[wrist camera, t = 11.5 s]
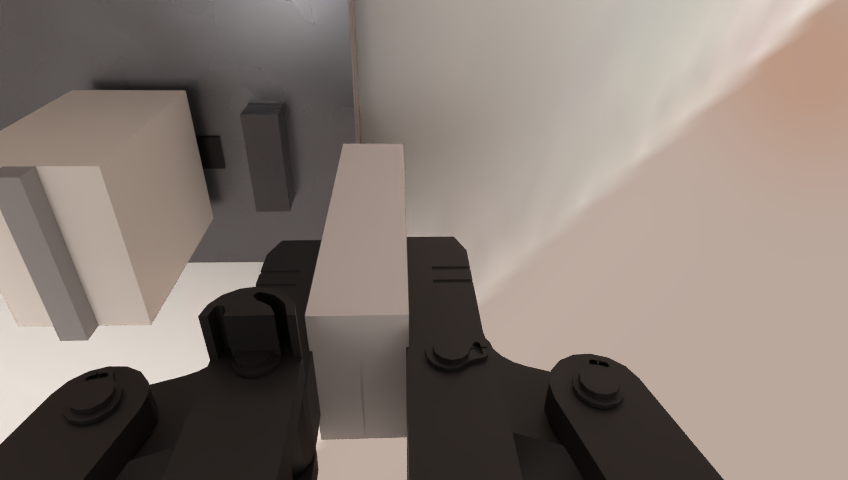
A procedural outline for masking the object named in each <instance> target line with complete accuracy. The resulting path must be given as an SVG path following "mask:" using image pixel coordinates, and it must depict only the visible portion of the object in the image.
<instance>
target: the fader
mask: <svg viewBox="0 0 848 480" xmlns="http://www.w3.org/2000/svg"><path fill="white" fill-rule="evenodd" d="M212 220H213V213H212V209H211V204H210V200H209V195H208V190H207V186H206V181H205V177H204V172H203V168H202V163H201V159H200V154H199V149H198V145H197V140H196V136H195V131H194V127H193V122H192V117H191V113H190V108H189V104H188V99H187V95H186V90H71V91H69V92H68V93H66V94H64V95H62V96H61V97H59V98H57V99H55V100H54V101H52V102H50V103H48V104H46V105H45V106H43V107H41V108H39V109H38V110H36V111H34V112H32V113H31V114H29V115H27V116H25V117H24V118H22V119H20V120H18V121H17V122H15V123H13V124H11V125H10V126H8V127H6V128H4V129H3V130H1V131H0V292H1V294H2V296H3V298H4V300H5V302H6V304H7V306H8V308H9V310H10V312H11V314H12V316H13V318H14V320H15V322H16V324H17V326H18V327H27V326H54V328H55V331H56V333H57V335H58V337H59V339H60V341H75V340H88V339H89V338H90V337H91V335H92V334H93V332H94V331H95V329H96V328H97V327H98V325H151V324H152V323H153V321H154V319H155V318H156V316H157V314H158V312H159V311H160V309H161V307H162V306H163V304H164V302H165V300H166V299H167V297H168V295H169V294H170V292H171V290H172V288H173V287H174V285H175V283H176V282H177V280H178V278H179V276H180V275H181V273H182V271H183V270H184V268H185V266H186V265H187V263H188V261H189V259H190V258H191V256H192V254H193V253H194V251H195V249H196V247H197V246H198V244H199V242H200V241H201V239H202V237H203V235H204V234H205V232H206V230H207V229H208V227H209V225H210V223H211V222H212Z"/></svg>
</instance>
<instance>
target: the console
mask: <svg viewBox="0 0 848 480" xmlns="http://www.w3.org/2000/svg"><path fill="white" fill-rule="evenodd" d="M71 90H186V95H187V99H188V104H189V108H190V113H191V117H192V122H193V127H194V131H195V136H196V140H197V145H198V149H199V154H200V159H201V163H202V168H203V172H204V177H205V181H206V186H207V190H208V195H209V200H210V204H211V209H212V213H213V220H212V222H211V223H210V225H209V227H208V229H207V230H206V232H205V234H204V235H203V237H202V239H201V241H200V242H199V244H198V246H197V247H196V249H195V251H194V253H193V254H192V256H191V258H190V259H189V261H188V262H264V261H265V258H266V256H267V254H268V253H269V252H270V251H271V250H272V249H274V248H275V247H276V246H277V245H278V244H279V243H280V242H281V241H282V240H322V236H323V232H324V227H325V223H326V218H327V214H328V210H329V205H330V201H331V196H332V192H333V187H334V183H335V178H336V174H337V169H338V165H339V160H340V156H341V151H342V147H343V144H361V136H360V115H359V94H358V73H357V51H356V30H355V9H354V0H0V131H1V130H3V129H4V128H6V127H8V126H10V125H11V124H13V123H15V122H17V121H18V120H20V119H22V118H24V117H25V116H27V115H29V114H31V113H32V112H34V111H36V110H38V109H39V108H41V107H43V106H45V105H46V104H48V103H50V102H52V101H54V100H55V99H57V98H59V97H61V96H62V95H64V94H66V93H68V92H69V91H71Z"/></svg>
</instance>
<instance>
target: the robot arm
mask: <svg viewBox="0 0 848 480" xmlns="http://www.w3.org/2000/svg"><path fill="white" fill-rule="evenodd" d="M198 317H199V321H200V325H201V328H202V332H203V336H204V339H205V343H206V347H207V350H208V354H209V358H210V362H209V365H208V367H206V368H204V369H202V370H200V371H198V372H195V373H192V374H189V375H186V376H182V377H179V378H175V379H171V380H167V381H163V382H159V383H155V384H151V385H149V383H148V381H147V379H146V378H145V377H144V375H143V374H142V373H141V372H140V371H137V370H135V369H132V368H129V367H112V366H109V367H105V368H101V369H97V370H93V371H89V372H87V373H84V374H82V375H80V376H78V377H76V378H74V379H72V380H70V381H68V382H67V383H65V384H64V385H63V386H62V387H60V388H59V389H58V390H56V391H55V392H54V393H52V394H51V395H50V396H49V397H48V398H47V399H46V400H45V401H44V402H43V403H42V404H41V405H40V406H39V407H38V408H37V409H36V410H35V411H34V412H33V413H32V414H31V415H30V416H29V417H28V418H27V419H26V420H25V421H24V422H23V423H22V424H21V425H20V426H19V427H18V428H17V429H16V430H15V431H14V432H13V433H11V434H10V435H9V436H8V437H7V438H6V439H5V440H4V441H3V442H2V443H1V444H0V480H317V475H318V461H317V453H316V443H317V436H318V429H319V425H320V433H321V440H325V439H359V438H396V437H407V480H724V479H723V478H722V477H721V476H720V475H719V474H718V472H717V471H716V470H715V469H714V468H713V466H712V465H711V464H710V463H709V462H708V460H707V459H706V458H705V457H704V456H703V454H702V453H701V452H700V451H699V450H698V448H697V447H696V446H695V445H694V444H693V442H692V441H691V440H690V439H689V438H688V436H687V435H686V434H685V433H684V432H683V431H682V429H681V428H680V427H679V426H678V424H677V423H676V422H675V421H674V420H673V418H672V417H671V416H670V415H669V414H668V412H667V411H666V410H665V409H664V408H663V406H662V405H661V404H660V403H659V402H658V400H657V399H656V398H655V397H654V396H653V395H652V393H651V392H650V391H649V390H648V389H647V387H646V386H645V385H644V384H643V383H642V381H641V380H640V379H639V378H638V377H637V376H636V375H635V374H633V373H632V372H631V371H630V370H629V369H628V368H627V367H626V366H624V365H622V364H620V363H618V362H616V361H614V360H611V359H610V358H607V357H602V356H598V355H593V354H581V355H580V354H579V355H572V356H569V357H567V358H565V359H562V360H560V361H559V362H558V363H557V364H556V365H555V367H554V368H553V369H552V370H551V372H549V371H544V370H540V369H536V368H532V367H527V366H524V365H521V364H518V363H514V362H512V361H510V360H508V359H506V358H505V357H503V356H501V355H500V354H498V353H497V352H496V351H495V350H494V349H493V348H492V346H491V344H490V342H489V341H488V340H487V339H485V336H484V334H483V330H482V325H481V321H480V315H479V310H478V305H477V300H476V295H475V290H474V286H473V283H472V276H471V271H470V266H469V261H468V256H467V251H466V249H465V248H464V247H463V246H462V245H461V244H460V243H459V242H458V241H457V240H456V239H455V238H454V237H406V205H405V172H404V144H343V147H342V151H341V156H340V160H339V165H338V169H337V174H336V178H335V183H334V187H333V192H332V196H331V201H330V205H329V210H328V214H327V218H326V223H325V227H324V232H323V236H322V240H282V241H281V242H280V243H279V244H278V245H277V246H276V247H275V248H274V249H272V250H271V251H270V252H269V253H268V254H267V256H266V258H265V261H264V264H263V267H262V269H261V274H260V275H259V277H258V280H257V283H256V287H251V288H243V289H238V290H235V291H232V292H230V293H227V294H224V295H222V296H220V297H219V298H217V299H216V300H214V301H213V302H211V303H210V304H208V305H207V306H206V307H205V309H204V310H203V311H202V312H201V314H200V315H199V316H198Z"/></svg>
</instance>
